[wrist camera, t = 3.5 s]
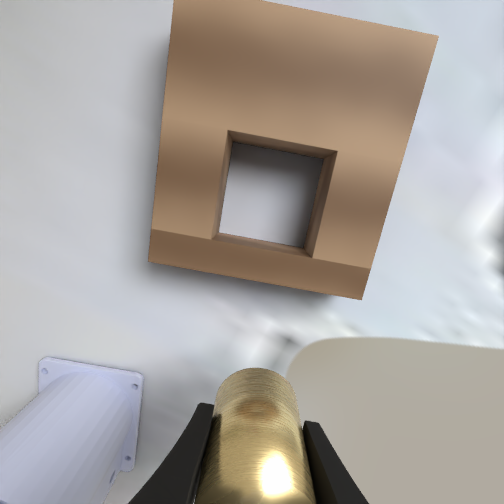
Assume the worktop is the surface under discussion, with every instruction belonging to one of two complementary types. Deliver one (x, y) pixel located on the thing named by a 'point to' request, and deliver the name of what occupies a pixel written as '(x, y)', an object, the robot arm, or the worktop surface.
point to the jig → (284, 134)
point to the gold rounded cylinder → (255, 444)
